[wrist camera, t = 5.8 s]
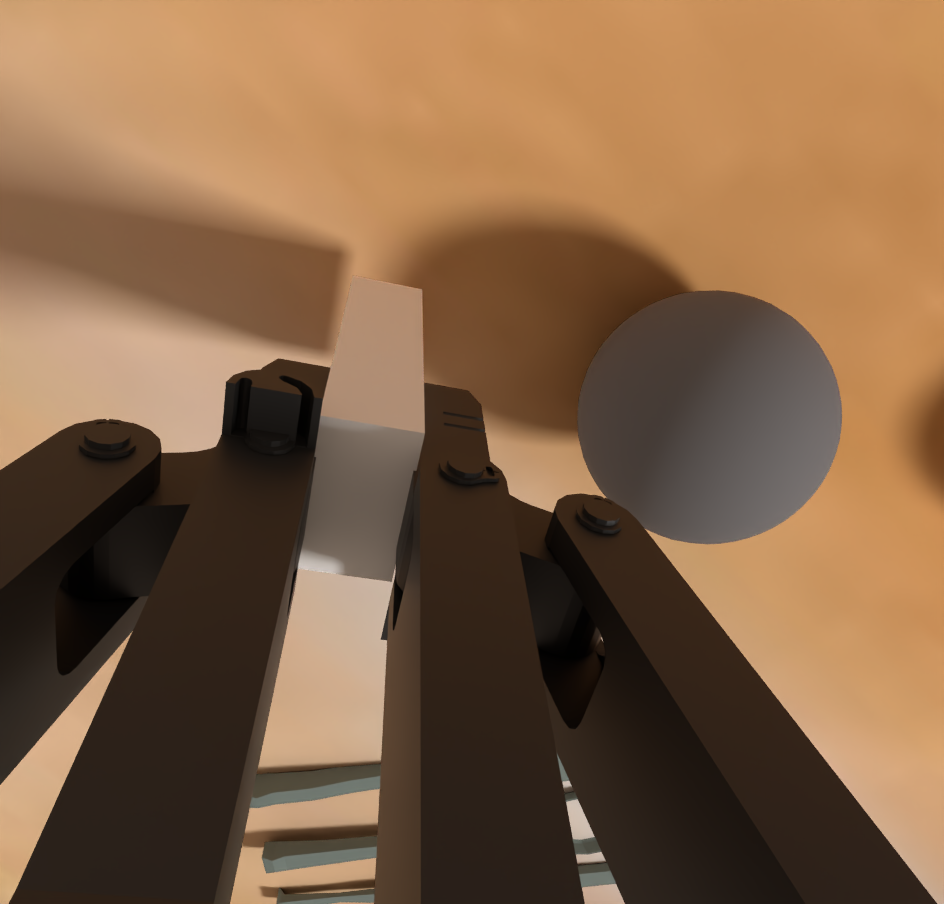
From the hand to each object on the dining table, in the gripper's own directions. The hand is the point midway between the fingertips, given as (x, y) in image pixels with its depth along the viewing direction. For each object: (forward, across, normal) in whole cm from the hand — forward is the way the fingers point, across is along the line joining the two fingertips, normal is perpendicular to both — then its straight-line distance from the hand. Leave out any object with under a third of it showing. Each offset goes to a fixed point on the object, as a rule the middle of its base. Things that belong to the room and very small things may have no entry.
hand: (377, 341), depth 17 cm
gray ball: (-1, +7, 0) cm, 7 cm away
